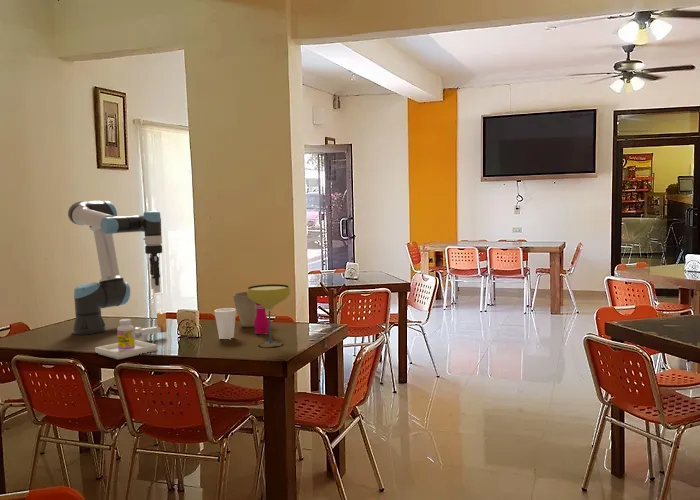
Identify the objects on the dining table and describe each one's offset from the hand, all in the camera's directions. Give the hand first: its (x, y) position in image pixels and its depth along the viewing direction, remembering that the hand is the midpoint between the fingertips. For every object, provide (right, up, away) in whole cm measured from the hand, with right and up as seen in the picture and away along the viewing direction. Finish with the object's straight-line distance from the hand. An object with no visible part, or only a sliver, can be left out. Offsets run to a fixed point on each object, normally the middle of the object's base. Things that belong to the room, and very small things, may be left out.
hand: (155, 290), depth 304 cm
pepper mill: (+49, -20, +2) cm, 53 cm away
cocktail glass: (+56, -22, -22) cm, 64 cm away
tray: (-4, -24, -28) cm, 37 cm away
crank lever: (-1, -19, -6) cm, 20 cm away
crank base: (-6, -23, -9) cm, 25 cm away
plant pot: (+40, -19, +23) cm, 50 cm away
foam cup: (+34, -21, -6) cm, 41 cm away
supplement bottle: (-4, -23, -28) cm, 36 cm away
